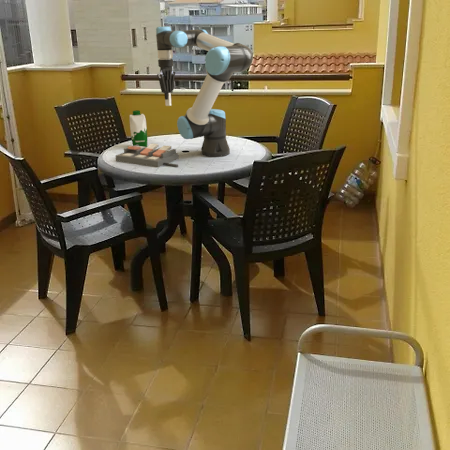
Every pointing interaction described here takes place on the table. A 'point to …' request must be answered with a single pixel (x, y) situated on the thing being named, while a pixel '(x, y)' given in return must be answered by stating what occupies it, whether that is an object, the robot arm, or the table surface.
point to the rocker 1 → (135, 147)
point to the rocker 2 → (161, 151)
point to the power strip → (148, 157)
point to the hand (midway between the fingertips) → (168, 105)
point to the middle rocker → (149, 149)
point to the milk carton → (138, 129)
